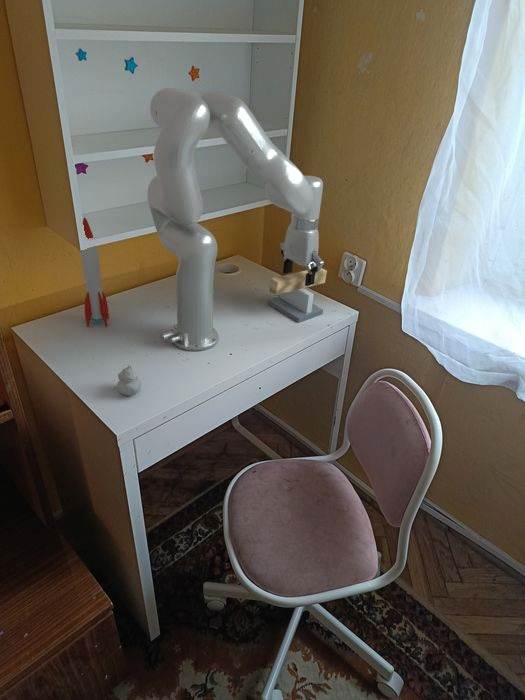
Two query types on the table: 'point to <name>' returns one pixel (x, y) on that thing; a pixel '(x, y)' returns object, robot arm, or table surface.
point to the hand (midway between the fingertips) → (298, 278)
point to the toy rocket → (93, 283)
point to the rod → (295, 281)
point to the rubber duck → (128, 381)
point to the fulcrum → (296, 305)
